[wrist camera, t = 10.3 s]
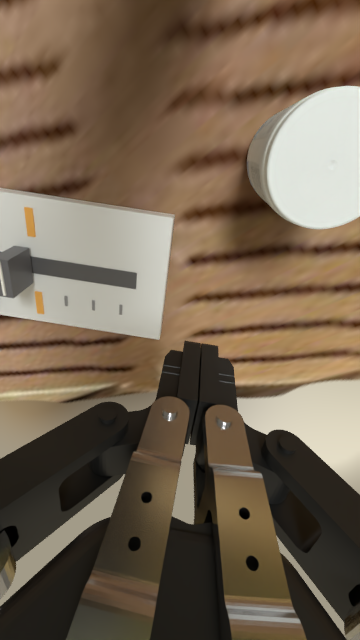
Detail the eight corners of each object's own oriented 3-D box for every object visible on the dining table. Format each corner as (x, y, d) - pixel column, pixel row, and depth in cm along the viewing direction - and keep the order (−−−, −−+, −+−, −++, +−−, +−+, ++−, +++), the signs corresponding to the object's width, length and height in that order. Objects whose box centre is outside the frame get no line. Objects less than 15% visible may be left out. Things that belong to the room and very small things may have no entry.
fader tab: (14, 245, 40) (-11, 258, 36) (29, 247, 40) (6, 261, 36) (19, 280, 43) (-3, 296, 38) (33, 282, 43) (12, 299, 38)
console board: (-42, 181, 39) (-65, 184, 36) (175, 214, 39) (171, 221, 36) (-15, 304, 48) (-31, 316, 45) (161, 332, 48) (157, 346, 45)
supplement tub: (317, 207, 37) (372, 241, 24) (238, 199, 37) (252, 228, 25) (345, 110, 32) (433, 89, 19) (254, 102, 32) (283, 76, 20)
